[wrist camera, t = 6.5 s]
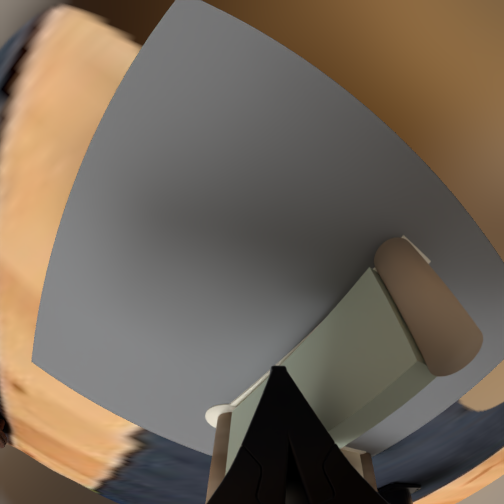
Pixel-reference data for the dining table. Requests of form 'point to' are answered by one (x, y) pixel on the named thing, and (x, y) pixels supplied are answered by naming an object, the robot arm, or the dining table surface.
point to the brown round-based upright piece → (2, 434)
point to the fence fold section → (375, 347)
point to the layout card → (239, 233)
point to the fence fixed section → (221, 449)
